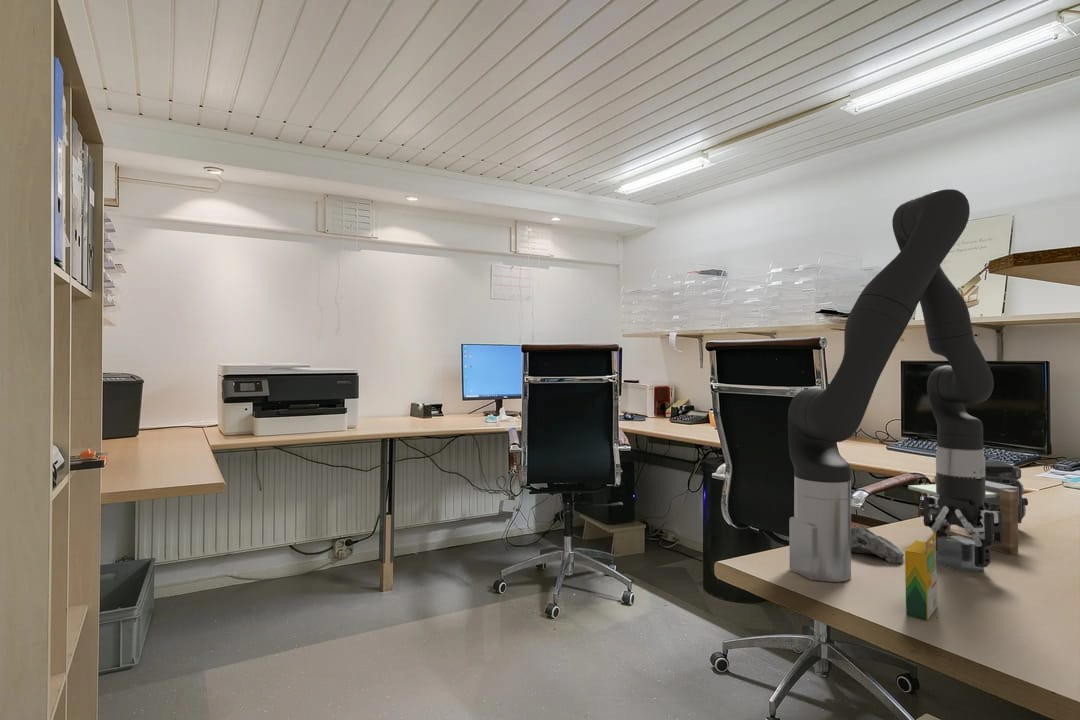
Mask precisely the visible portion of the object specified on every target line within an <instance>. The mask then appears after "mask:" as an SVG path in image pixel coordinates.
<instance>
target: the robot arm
mask: <svg viewBox="0 0 1080 720" xmlns="http://www.w3.org/2000/svg"><path fill="white" fill-rule="evenodd" d="M970 208H971V207H970V203H969V200H968V198H967V196H966V194H964V193H963V192H962V191H960V190H958V189H956V188H955V189H954V188H944V189H936V190H934V191H930V192H928V193H926V194H923V195H920V196H917V197H915V198H911V199H910V200H907V201H905V202H903V203H901V204H900V205H898V207H897V208H896V209H895V211H894V214H893V216H892V220H891V222H892V230H893V235H894V238H895V241H896V243H897V246H898V249H899V251H900V252H898V254H897V255H896V256H895V257H894V258H893V259H892V260H891V261H890V262H889V263H888V264H886V266H884V267H883V269H881V271H880V272H879V273H877V274H876V275H875V276H874V277H873V278H872V279H871V280H870V281H869V282H868V284H866V286H865V287H864V288H863V290H862V291H861V292H860V294H859V295H858V297H857V300H856V301H855V303H854V305H853V306H852V309H851V310H850V313H849V314H848V316H847V318H846V322H845V325H844V336H843V337H844V339H843V342H844V343H843V346H844V349H843V357H842V360H841V363H840V365H839V367H838V369H837V371H836V372H835V374H834V376H833V378H832V379H831V381H830V383H829V384H828V385H827V386H826V388H805V389H803V390H801V391H799V392H798V393H796V394H795V395H794V396H793V398H792V400H791V401H790V404H789V408H788V412H787V430H788V432H787V433H788V450H789V452H788V453H789V457H790V461H791V464H792V465H793V475H794V478H793V479H794V486H793V487H794V491H793V492H794V493H793V496H794V497H793V498H794V499H793V501H794V505H793V509H794V511H793V513H794V516H791V517H789V521H788V522H789V525H788V527H789V528H788V529H789V534H788V535H789V536H788V537H789V541H788V542H789V570H790V571H793V572H795V573H796V574H799V575H801V576H802V577H804V578H806V579H808V580H810V581H823V582H830V583H831V582H832V583H833V582H834V583H835V582H836V583H841V582H846V581H848V580H850V579H852V551H851V529H852V469H851V465H850V463H849V462H848V461H847V460H846V459H844V457H842V455H841V454H840V452H839V450H838V448H837V443H841V442H843V441H847V440H849V439H850V438H851V437H852V436H853V435H854V434H855V433H856V432H857V430H858V429H859V427H860V425H861V423H862V421H863V419H864V416H865V414H866V411H867V409H868V406H869V404H870V401H871V398H872V395H873V393H874V391H875V388H876V386H877V384H878V381H879V379H880V377H881V374H882V373H883V371H884V369H885V367H886V365H887V364H888V361H889V359H890V358H891V356H892V353H893V352H894V349H895V348H896V346H897V344H898V342H899V341H900V339H901V337H902V335H903V334H904V332H905V330H906V328H907V326H908V325H909V323H910V320H911V319H912V317H913V315H914V313H915V310H916V308H917V306H918V304H919V303H920V304H919V305H920V307H921V312H922V316H923V321H924V327H925V331H926V337H927V343H928V346H929V349H930V351H931V352H932V353H933V354H934V355H938V356H942V357H944V358H945V359H946V360H947V361H948V364H949V365H941V366H937V367H936V368H934V369H933V370H932V371H931V373H930V375H929V376H928V379H927V383H926V392H927V396H928V400H929V403H930V406H931V410H932V415H933V416H934V419H935V421H936V425H937V428H936V430H937V432H936V437H937V438H936V441H937V442H936V446H937V447H936V448H937V449H936V454H935V476H936V493H937V494H938V495H939V497H938V496H935V495H927V496H924V497H923V525H924V526H925V527H927V528H930V530H931V531H932V532H933V534H934V533H935V532H936V553H937V537H946V536H949V535H948V533H945V532H946V531H947V530H948V528H949V527H950V528H951V526H958V527H959V528H962V529H964V530H965V532H966V533H968V534H969V535H971V536H972V538H973V540H974V542H975V544H976V545H977V546H975V565H976V566H978V567H984V568H986V567H988V566H989V565H990V563H991V548H990V547H991V546H997V545H1002V514H1001V513H1000V512H999V511H987V510H985V509H984V507H983V500H984V499H985V497H986V495H985V461H986V458H985V453H984V426H983V421H981V420H980V418H978V417H975V416H972V415H970V414H969V413H968V412H967V410H966V407H965V404H971V405H972V404H973V405H976V404H981V403H984V402H985V401H987V400H988V399H989V398H990V397H991V395H992V393H993V391H994V386H995V385H994V383H995V381H994V376H993V373H992V370H991V368H990V366H989V365H988V363H987V360H986V358H985V357H984V355H983V352H982V351H981V349H980V347H979V345H978V343H977V342H976V340H975V336H974V332H973V326H972V321H971V317H970V315H971V314H970V311H969V308H968V305H967V303H966V300H965V299H964V297H963V296H962V294H961V293H960V291H959V290H958V289H957V288H956V287H955V285H954V284H953V283H952V281H951V280H950V279H949V278H948V276H947V275H946V274H945V272H944V270H943V268H942V267H941V266H942V265H941V264H942V263H943V261H944V259H945V258H946V257H947V256H948V254H950V251H951V250H952V248H953V247H954V245H955V244H956V243H957V241H958V240H959V239H960V237H961V236H962V234H963V232H964V230H965V229H966V227H967V224H968V222H969V218H970V215H971V214H970ZM939 508H940V510H941V512H940V514H939ZM982 518H983V519H982ZM983 521H984V522H983ZM976 525H977V527H978V528H977V527H976ZM981 538H982V539H981Z"/></svg>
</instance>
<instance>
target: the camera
mask: <svg viewBox="0 0 1080 720" xmlns="http://www.w3.org/2000/svg"><path fill="white" fill-rule="evenodd" d="M1021 478H1022V469H1021V468H1020V467H1018V466H1016V465H1012V464H1010V463H1007V462H1001V461H999V460H998V461H997V460H985V481H990V482H995V483H1000V484H1004V485H1009V486H1014V487H1019V505H1018V524H1022V520H1023V518H1025V516H1026V514H1027V509H1026V506H1028V505H1029V500H1028V498H1027V497H1023V495H1024V491H1025V490H1024V484H1022V482H1021V481H1020V479H1021ZM983 507H984V509H985V510H987V511H999V512H1000V506H998V505H994V504H990V503H985V502H983ZM982 519H983V518H982ZM983 522H984V521H983ZM975 528H978V527H977V525H976V526H975Z"/></svg>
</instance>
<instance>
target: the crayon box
mask: <svg viewBox="0 0 1080 720" xmlns="http://www.w3.org/2000/svg"><path fill="white" fill-rule="evenodd" d="M904 568H905V569H904V571H905V572H904V573H905V574H904V576H905V577H904V579H905V580H904V581H905V613H906V616H907V615H908V617H911V616H912V618H915V619H919V620H923V621H929V619H930V618H931V616H932V615H933V614H934V612H935V610H936V608H938V589H937V588H938V587H937V585H938V584H937V581H938V580H937V579H938V577H937V552H936V532H935V533H934V532H933V534H932V535H930V537H929V538H928V539H927V541H921V540H914V541H913V542H912V543H911V544H910V545H909V547H907V548H906V549H905V551H904Z"/></svg>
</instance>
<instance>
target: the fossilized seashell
mask: <svg viewBox="0 0 1080 720" xmlns="http://www.w3.org/2000/svg"><path fill="white" fill-rule="evenodd" d="M851 553H855V554H856V553H857V554H864V553H865V555H866V554H869V555H870V554H873V555H876V556H877V557H880V558H881V559H883V560H885V561H886V562H887V563H889V564H903V563H904V557H905V553H903V551H901V550H900V548H899V547H898V546H897V545H895V544H894V543H893V542H891V541H890V540H888V539H886V538H885V537H882V536H880V535H877V534H875V533H874V532H873V531H871V530H870V529H868V528H867V527H865V526H863V525H858V527H857V526H854V527H853V528H852V527H851Z"/></svg>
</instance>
